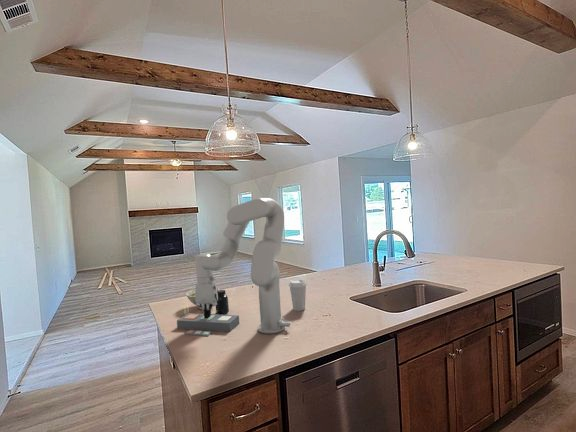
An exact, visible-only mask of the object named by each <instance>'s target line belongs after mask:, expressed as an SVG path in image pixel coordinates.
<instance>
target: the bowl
mask: <svg viewBox="0 0 576 432" xmlns="http://www.w3.org/2000/svg"><path fill="white" fill-rule="evenodd" d="M216 288H217V291H219V290H221V289H220V288H218V287H216ZM185 296H186V297H187V299H188V301H189V302H191V303H192V304H193V305H194V306H197V309H200V310H203V309H202V307H201V306H199V305H197V304H196V303H197V302H196V299H195V289H192V290H191V289H190V290H189V291H187V292H186V294H185Z"/></svg>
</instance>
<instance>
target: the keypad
mask: <svg viewBox="0 0 576 432" xmlns="http://www.w3.org/2000/svg"><path fill="white" fill-rule="evenodd" d="M190 314H193V315H199V316H198V317H197V318H195V319H194V320H192V319H184V318H185V317H187V316H188V315H190ZM211 315H215V317H214V318H213V319H212V320H200V319H201V318H202V317H204V313H193V312H188V313H186V314H185V315H183V316H182V317H180V318H179V319H177V320H176V325H177V326H176V327H177V328H178V329H179V330H180V329H181V330H193V329H195V330H196V331H212V332H225V333H226V332H228V333H229V332H232V331H233V330H234V329H235V328H236V327H237V326H239V325H240V315H238V314H237V315H235V314H224V315H219V314H217V313H214V314H213V313H211ZM222 316H232V318H231V319H230V320H229V321H217V320H218V319H219V318H220V317H222Z"/></svg>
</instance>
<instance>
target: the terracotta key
mask: <svg viewBox="0 0 576 432" xmlns="http://www.w3.org/2000/svg"><path fill="white" fill-rule="evenodd" d="M198 316H199V315H193V314H190V315H188V316H187V317H185V318H184V319H192V320H194V319H195V318H197V317H198Z"/></svg>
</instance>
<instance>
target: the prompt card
mask: <svg viewBox="0 0 576 432" xmlns="http://www.w3.org/2000/svg"><path fill="white" fill-rule="evenodd" d="M212 333H213V331H209V330H193V329H188V330H187V331H186V332H185V333H184V335H185V336H197V335H199V337H202V336H203V337H209V336H210V335H212Z"/></svg>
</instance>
